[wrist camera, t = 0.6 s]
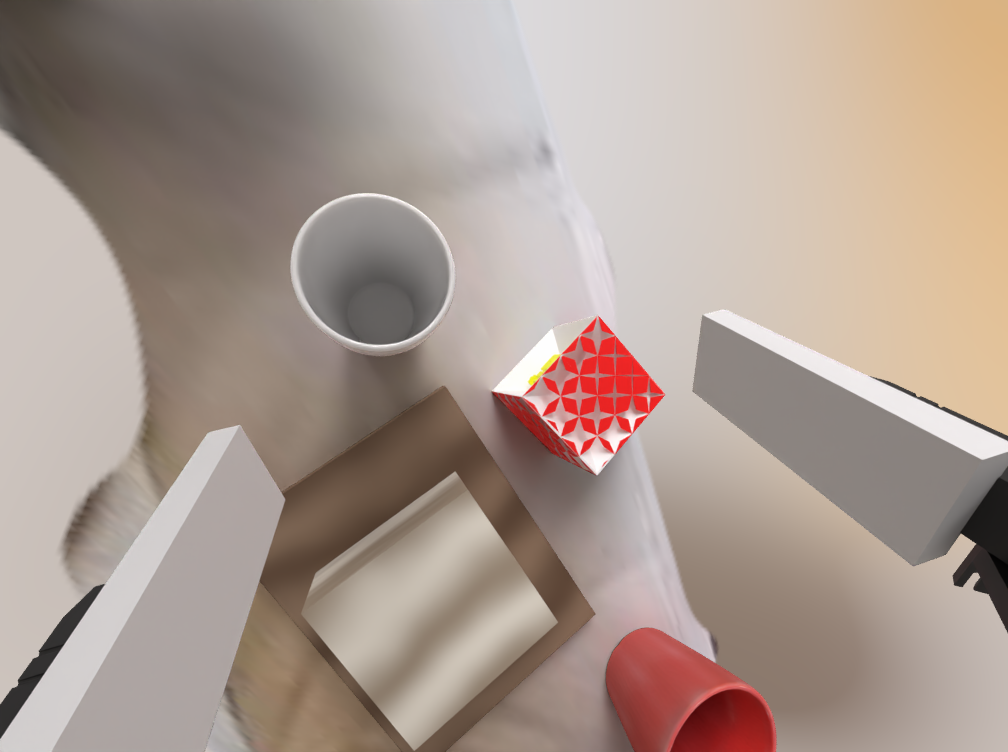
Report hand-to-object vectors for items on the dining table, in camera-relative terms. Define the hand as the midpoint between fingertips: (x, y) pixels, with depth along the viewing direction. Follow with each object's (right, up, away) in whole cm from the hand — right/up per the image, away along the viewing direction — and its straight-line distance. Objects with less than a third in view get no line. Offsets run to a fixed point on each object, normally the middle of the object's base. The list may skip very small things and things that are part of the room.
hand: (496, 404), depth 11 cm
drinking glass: (-9, +5, +20) cm, 22 cm away
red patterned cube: (+4, 0, +24) cm, 24 cm away
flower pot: (+13, -27, +27) cm, 40 cm away
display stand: (-6, -15, +21) cm, 26 cm away
